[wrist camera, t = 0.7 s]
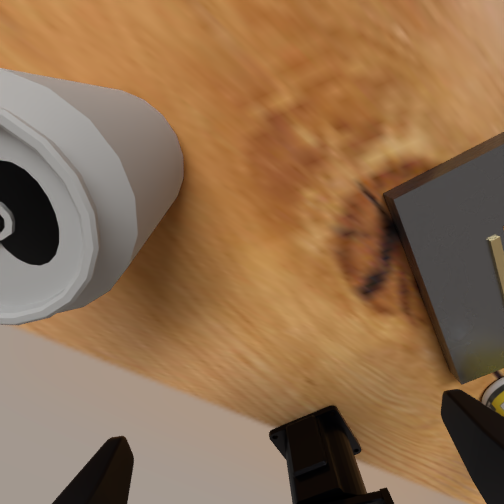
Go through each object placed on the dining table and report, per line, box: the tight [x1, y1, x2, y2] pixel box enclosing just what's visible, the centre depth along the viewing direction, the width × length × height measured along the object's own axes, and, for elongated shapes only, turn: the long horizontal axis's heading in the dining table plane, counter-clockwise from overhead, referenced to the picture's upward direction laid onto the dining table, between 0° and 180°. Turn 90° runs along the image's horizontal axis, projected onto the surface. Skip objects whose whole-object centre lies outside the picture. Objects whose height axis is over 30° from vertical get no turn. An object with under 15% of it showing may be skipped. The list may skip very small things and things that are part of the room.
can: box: [0, 68, 184, 325], centre depth 13 cm, size 8×8×12 cm
